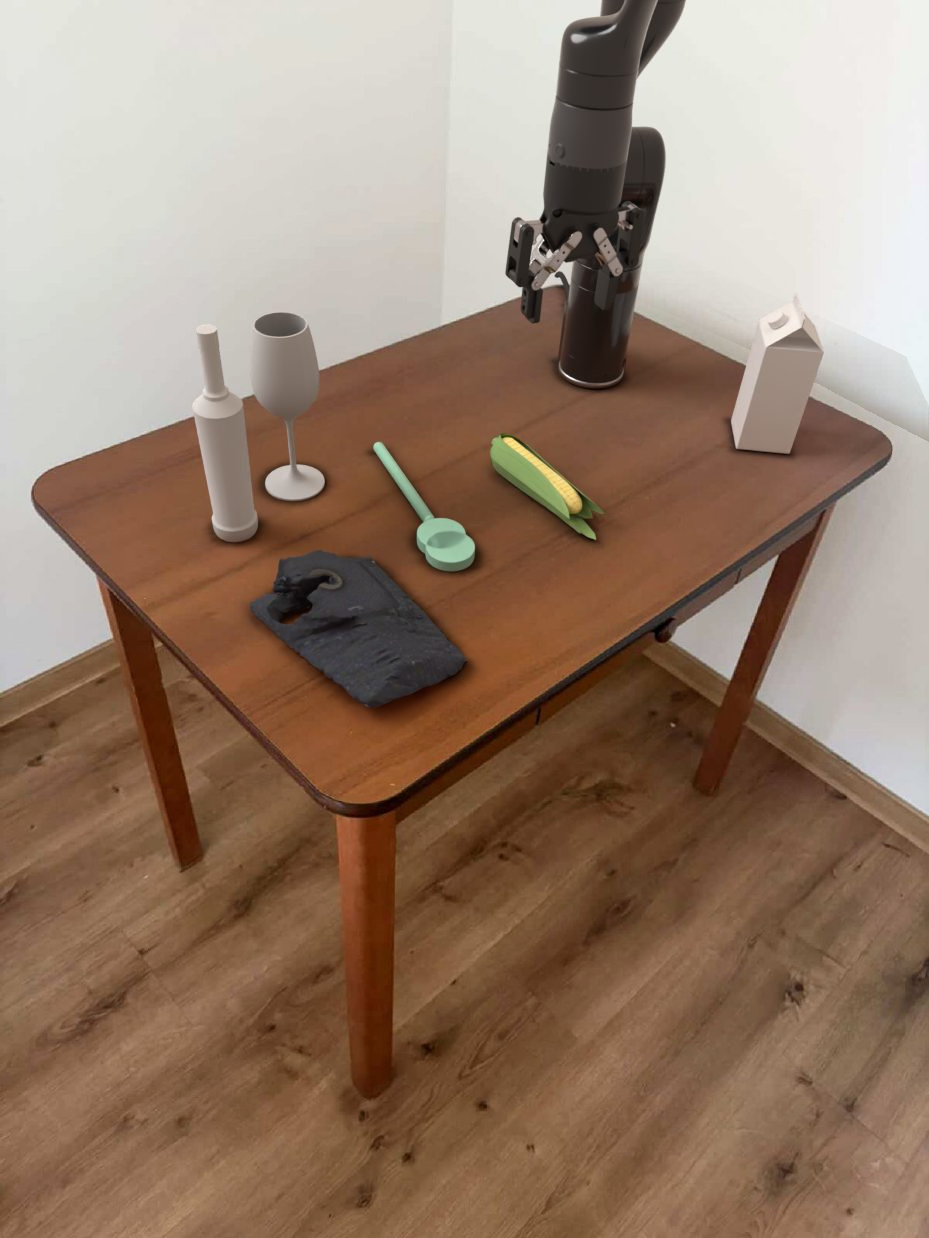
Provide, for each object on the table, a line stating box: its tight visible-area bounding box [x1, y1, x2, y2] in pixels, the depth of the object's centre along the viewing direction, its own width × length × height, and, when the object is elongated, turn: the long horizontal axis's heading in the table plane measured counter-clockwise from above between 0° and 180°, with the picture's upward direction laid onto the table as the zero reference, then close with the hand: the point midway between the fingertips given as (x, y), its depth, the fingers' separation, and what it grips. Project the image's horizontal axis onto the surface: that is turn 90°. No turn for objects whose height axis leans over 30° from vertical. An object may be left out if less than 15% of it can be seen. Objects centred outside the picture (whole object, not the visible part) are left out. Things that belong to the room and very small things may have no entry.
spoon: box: [373, 441, 476, 572], centre depth 116 cm, size 26×6×1 cm, turn 25°
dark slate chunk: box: [249, 549, 469, 709], centre depth 98 cm, size 15×22×5 cm
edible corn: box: [489, 432, 606, 541], centre depth 117 cm, size 5×20×5 cm, turn 35°
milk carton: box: [730, 292, 825, 455], centre depth 124 cm, size 7×7×19 cm
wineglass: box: [249, 311, 326, 502], centre depth 111 cm, size 8×8×21 cm
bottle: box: [191, 323, 259, 543], centre depth 103 cm, size 5×5×25 cm
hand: (567, 313), depth 101 cm, fingers open, 8 cm apart
